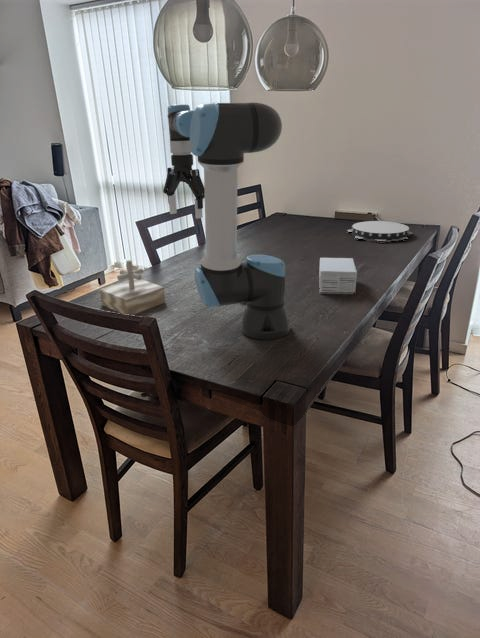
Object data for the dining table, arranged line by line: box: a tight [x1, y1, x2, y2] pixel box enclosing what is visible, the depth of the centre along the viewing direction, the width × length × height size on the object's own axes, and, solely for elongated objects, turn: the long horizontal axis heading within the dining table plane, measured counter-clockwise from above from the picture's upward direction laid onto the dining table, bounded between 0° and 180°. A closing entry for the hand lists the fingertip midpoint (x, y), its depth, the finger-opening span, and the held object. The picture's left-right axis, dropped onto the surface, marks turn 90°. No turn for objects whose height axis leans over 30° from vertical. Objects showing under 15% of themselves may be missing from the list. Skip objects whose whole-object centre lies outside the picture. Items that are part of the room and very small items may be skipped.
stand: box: [99, 278, 166, 316], centre depth 168 cm, size 16×16×6 cm
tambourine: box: [346, 220, 413, 241], centre depth 251 cm, size 34×33×5 cm
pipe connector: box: [116, 259, 144, 289], centre depth 164 cm, size 10×10×10 cm
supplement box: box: [318, 257, 358, 293], centre depth 179 cm, size 17×13×9 cm
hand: (186, 215), depth 170 cm, fingers open, 13 cm apart
